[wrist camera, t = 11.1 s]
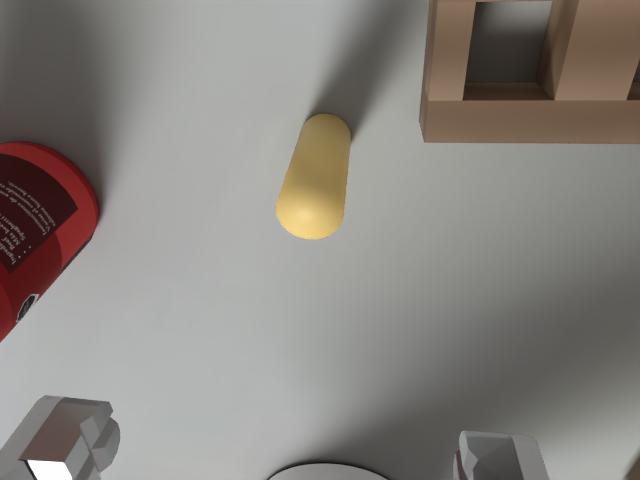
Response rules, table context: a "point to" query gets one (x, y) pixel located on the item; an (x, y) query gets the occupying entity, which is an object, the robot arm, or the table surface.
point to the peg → (316, 179)
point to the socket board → (537, 79)
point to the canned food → (38, 224)
